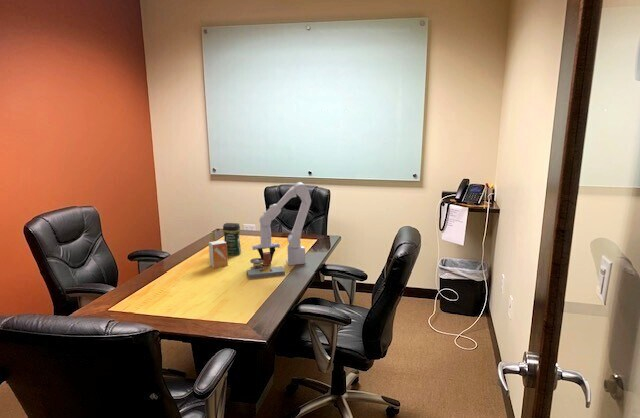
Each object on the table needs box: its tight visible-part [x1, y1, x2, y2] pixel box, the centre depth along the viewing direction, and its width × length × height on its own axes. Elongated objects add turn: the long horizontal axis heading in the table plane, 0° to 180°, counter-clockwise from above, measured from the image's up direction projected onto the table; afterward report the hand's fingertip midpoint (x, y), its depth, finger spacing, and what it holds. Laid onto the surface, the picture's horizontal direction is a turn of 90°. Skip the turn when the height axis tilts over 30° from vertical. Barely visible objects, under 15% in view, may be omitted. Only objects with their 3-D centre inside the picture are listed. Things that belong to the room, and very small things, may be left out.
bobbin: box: [250, 257, 265, 272], centre depth 224 cm, size 7×7×5 cm
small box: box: [208, 239, 229, 269], centre depth 229 cm, size 8×6×13 cm
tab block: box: [262, 251, 272, 266], centre depth 231 cm, size 4×4×6 cm
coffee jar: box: [222, 222, 242, 256], centre depth 249 cm, size 10×8×19 cm
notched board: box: [246, 265, 286, 280], centre depth 216 cm, size 18×8×2 cm, turn 106°
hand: (266, 261), depth 232 cm, fingers closed on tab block, 4 cm apart
